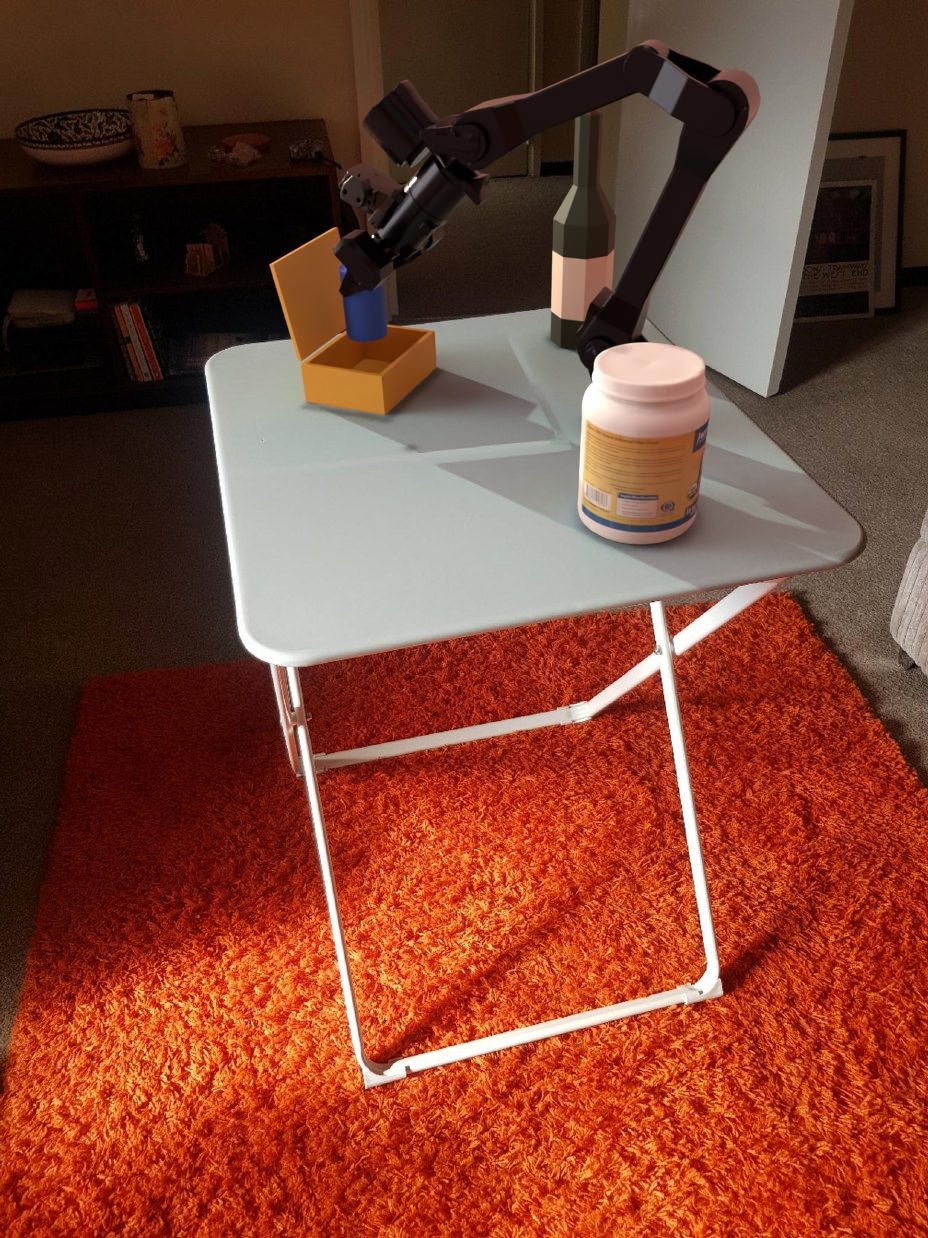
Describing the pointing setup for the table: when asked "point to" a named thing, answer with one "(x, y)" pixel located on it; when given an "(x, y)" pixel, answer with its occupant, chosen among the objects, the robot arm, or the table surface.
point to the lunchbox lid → (311, 293)
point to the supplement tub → (643, 442)
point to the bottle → (365, 313)
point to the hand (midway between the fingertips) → (352, 286)
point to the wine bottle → (581, 237)
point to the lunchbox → (369, 370)
